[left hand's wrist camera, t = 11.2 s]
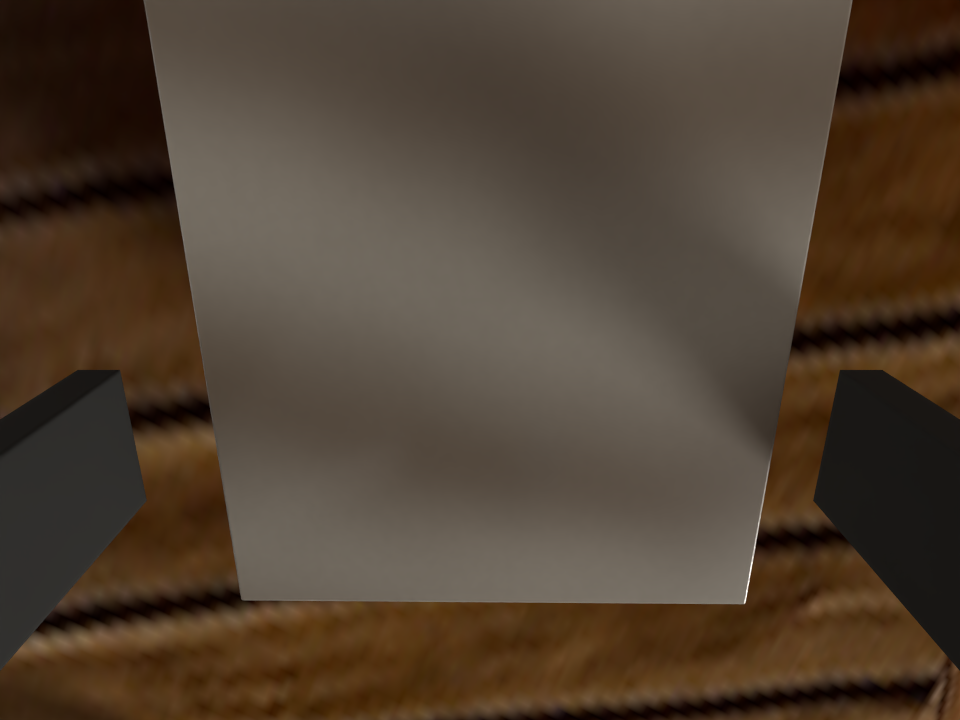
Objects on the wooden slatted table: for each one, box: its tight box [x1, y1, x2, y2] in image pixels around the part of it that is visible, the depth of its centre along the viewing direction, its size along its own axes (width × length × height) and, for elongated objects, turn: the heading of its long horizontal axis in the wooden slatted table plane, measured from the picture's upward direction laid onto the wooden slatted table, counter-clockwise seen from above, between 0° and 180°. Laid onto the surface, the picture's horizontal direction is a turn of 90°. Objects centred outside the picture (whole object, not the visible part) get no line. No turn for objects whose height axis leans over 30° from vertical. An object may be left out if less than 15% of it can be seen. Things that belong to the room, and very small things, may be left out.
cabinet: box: [144, 0, 852, 604], centre depth 15 cm, size 21×11×11 cm, turn 0°
